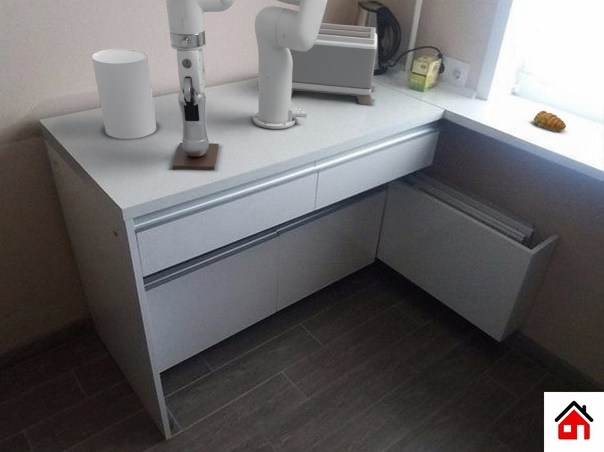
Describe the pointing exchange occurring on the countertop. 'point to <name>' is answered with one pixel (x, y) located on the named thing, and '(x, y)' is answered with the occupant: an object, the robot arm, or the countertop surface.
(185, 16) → the robot arm
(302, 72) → the toaster
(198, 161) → the walnut board
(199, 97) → the silver bottle
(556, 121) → the pastry
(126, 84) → the canister
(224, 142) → the countertop surface
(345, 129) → the countertop surface
